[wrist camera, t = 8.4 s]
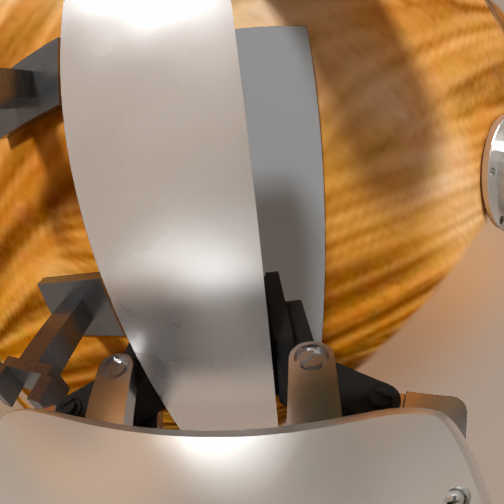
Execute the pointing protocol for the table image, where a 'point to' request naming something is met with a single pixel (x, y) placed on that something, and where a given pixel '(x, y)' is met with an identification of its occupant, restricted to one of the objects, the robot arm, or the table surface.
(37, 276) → the table surface
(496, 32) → the table surface
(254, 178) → the mat
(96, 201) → the hang bar
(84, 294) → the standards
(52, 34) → the table surface
